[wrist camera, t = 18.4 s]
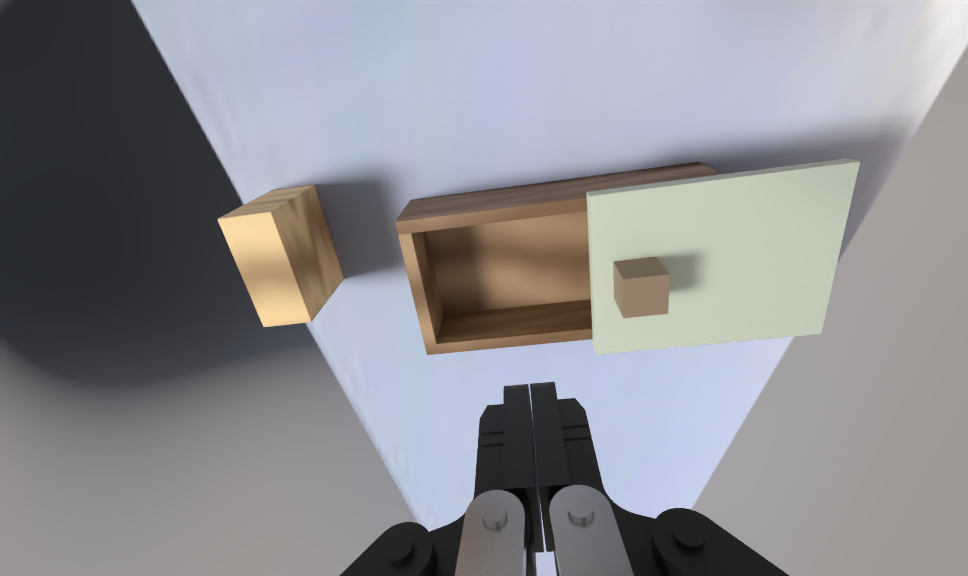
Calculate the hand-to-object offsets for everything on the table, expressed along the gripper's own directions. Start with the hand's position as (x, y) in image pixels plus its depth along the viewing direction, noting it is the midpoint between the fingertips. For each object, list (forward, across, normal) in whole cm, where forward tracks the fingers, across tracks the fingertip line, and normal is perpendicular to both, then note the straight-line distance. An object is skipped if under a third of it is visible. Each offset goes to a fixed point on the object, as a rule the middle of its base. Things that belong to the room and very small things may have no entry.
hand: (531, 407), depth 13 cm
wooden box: (+27, -3, +6) cm, 28 cm away
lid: (+21, -14, +6) cm, 25 cm away
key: (+27, +19, +2) cm, 33 cm away
